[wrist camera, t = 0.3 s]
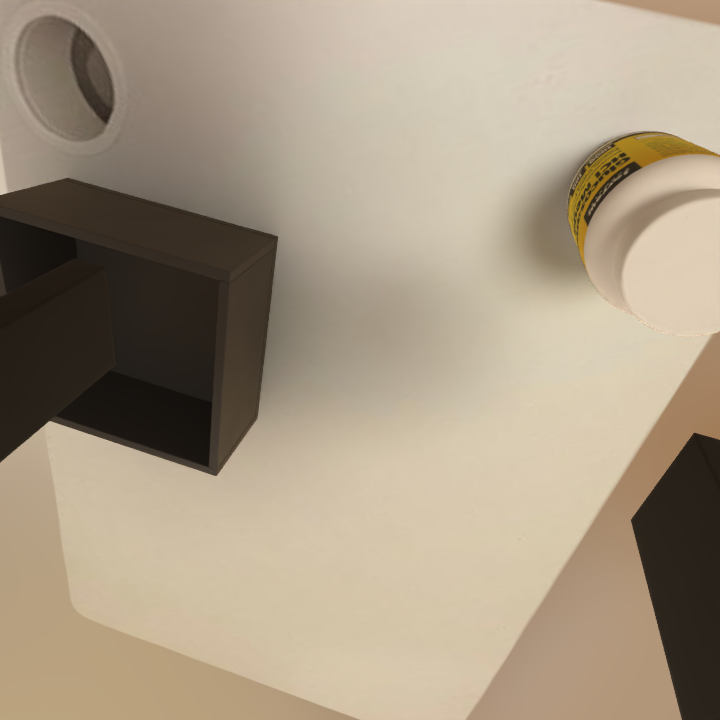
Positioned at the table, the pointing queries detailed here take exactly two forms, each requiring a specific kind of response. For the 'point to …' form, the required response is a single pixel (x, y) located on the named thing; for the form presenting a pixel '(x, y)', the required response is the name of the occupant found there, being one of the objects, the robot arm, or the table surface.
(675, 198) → the pill bottle
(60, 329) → the robot arm
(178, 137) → the table surface
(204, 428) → the basket
